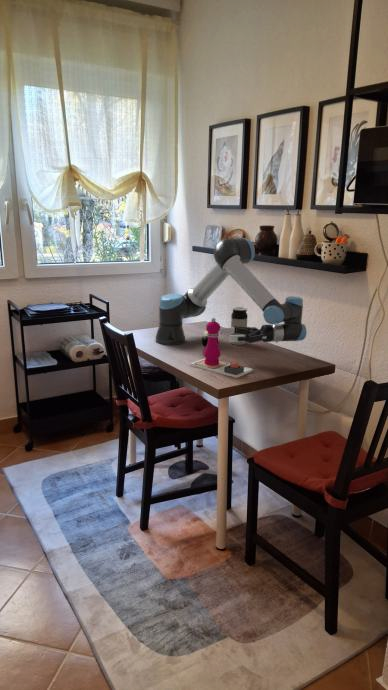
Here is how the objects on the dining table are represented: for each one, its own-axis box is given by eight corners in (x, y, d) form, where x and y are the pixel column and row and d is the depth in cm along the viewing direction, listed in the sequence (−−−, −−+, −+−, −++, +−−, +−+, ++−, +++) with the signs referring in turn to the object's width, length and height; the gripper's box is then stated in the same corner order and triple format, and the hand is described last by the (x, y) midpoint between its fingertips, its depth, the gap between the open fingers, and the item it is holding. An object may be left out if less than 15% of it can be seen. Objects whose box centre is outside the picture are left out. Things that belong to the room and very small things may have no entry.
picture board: (206, 359, 226) (207, 352, 225) (252, 371, 212) (253, 363, 211) (190, 365, 217) (190, 358, 216) (236, 378, 202) (237, 370, 202)
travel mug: (228, 344, 253) (229, 308, 248) (232, 340, 260) (234, 306, 256) (243, 346, 250) (245, 310, 246) (247, 342, 258) (249, 307, 253)
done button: (233, 366, 209) (233, 361, 208) (240, 368, 207) (240, 363, 206) (228, 368, 206) (228, 363, 205) (235, 370, 204) (235, 365, 203)
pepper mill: (218, 366, 213) (220, 320, 208) (202, 365, 214) (203, 319, 209) (221, 361, 220) (223, 316, 214) (204, 360, 221) (206, 315, 216)
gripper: (282, 349, 209) (233, 351, 204) (260, 334, 232) (216, 336, 227) (283, 331, 207) (234, 333, 202) (261, 318, 230) (216, 319, 225)
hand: (224, 334), depth 214 cm, fingers open, 13 cm apart
